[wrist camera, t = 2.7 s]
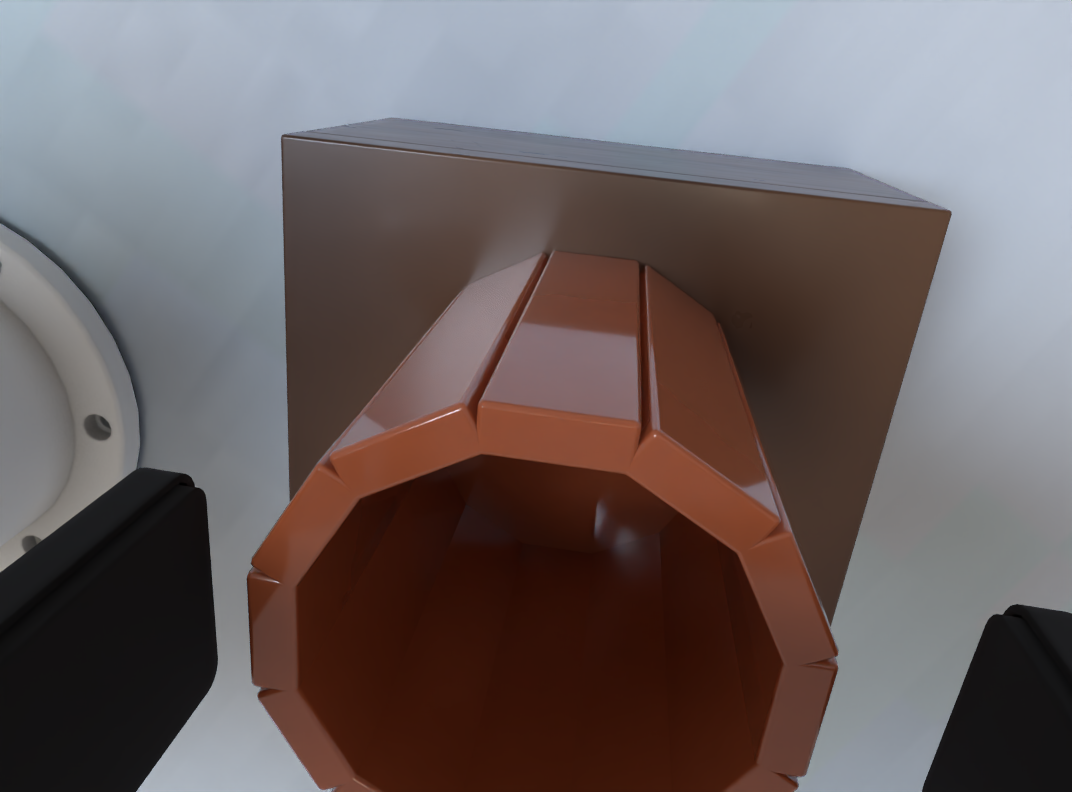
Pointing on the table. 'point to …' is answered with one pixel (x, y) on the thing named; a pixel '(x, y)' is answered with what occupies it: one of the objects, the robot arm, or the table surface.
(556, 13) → the table surface
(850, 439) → the shelf
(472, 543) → the cup
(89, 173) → the table surface
